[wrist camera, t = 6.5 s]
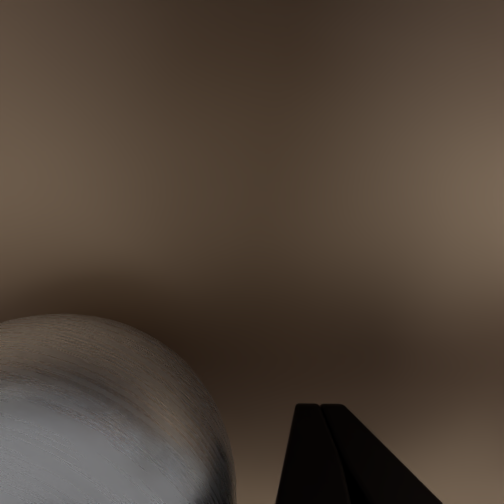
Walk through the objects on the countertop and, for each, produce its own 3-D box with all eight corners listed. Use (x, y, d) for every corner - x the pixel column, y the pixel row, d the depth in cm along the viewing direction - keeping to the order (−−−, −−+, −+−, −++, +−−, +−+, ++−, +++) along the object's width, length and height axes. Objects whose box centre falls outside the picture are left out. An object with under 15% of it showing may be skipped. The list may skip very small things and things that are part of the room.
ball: (252, 499, 9) (169, 973, 4) (25, 456, 9) (-270, 823, 5) (272, 278, 7) (156, 701, 2) (-15, 242, 7) (-579, 508, 3)
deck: (447, 512, 15) (522, 659, 11) (27, 519, 14) (-46, 685, 10) (638, -33, 9) (951, -111, 5) (-103, -103, 7) (-422, -274, 4)
